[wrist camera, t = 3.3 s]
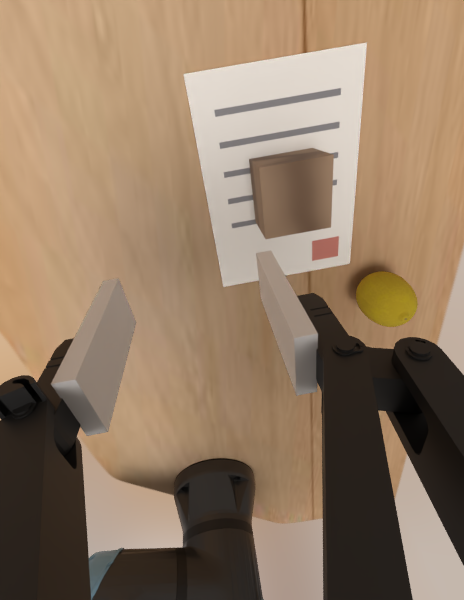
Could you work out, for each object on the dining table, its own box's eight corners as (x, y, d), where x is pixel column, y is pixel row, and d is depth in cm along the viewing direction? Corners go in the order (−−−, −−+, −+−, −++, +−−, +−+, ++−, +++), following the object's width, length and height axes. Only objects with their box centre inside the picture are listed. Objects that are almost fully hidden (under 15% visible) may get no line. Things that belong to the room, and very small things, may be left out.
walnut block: (255, 221, 31) (265, 239, 27) (248, 159, 28) (259, 167, 24) (312, 211, 31) (331, 227, 27) (312, 147, 28) (333, 154, 24)
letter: (223, 286, 35) (223, 287, 35) (183, 74, 24) (183, 74, 24) (349, 262, 35) (349, 263, 35) (365, 43, 24) (367, 42, 24)
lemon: (336, 284, 37) (368, 323, 30) (373, 251, 35) (417, 285, 28) (361, 307, 39) (396, 348, 32) (397, 278, 37) (442, 315, 31)
